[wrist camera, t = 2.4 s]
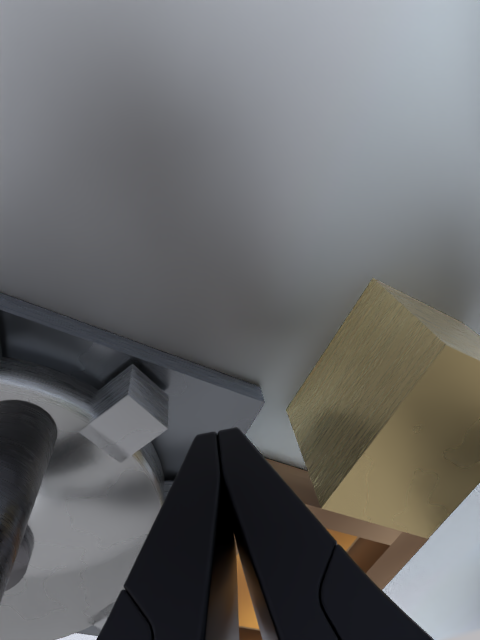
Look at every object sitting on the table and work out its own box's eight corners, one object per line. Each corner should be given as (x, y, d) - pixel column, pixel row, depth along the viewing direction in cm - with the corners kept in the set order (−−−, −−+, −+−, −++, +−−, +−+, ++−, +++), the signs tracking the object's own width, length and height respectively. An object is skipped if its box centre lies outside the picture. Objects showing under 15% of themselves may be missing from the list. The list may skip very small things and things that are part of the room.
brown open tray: (407, 502, 17) (429, 538, 16) (291, 638, 20) (300, 678, 19) (237, 449, 15) (244, 487, 14) (135, 612, 18) (132, 656, 17)
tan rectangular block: (460, 320, 14) (557, 397, 10) (370, 438, 16) (428, 538, 12) (371, 276, 13) (446, 345, 9) (285, 408, 15) (321, 508, 11)
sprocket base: (260, 386, 14) (265, 402, 13) (118, 617, 18) (116, 638, 17) (-198, 220, 10) (-226, 229, 9) (-245, 558, 14) (-267, 582, 14)
